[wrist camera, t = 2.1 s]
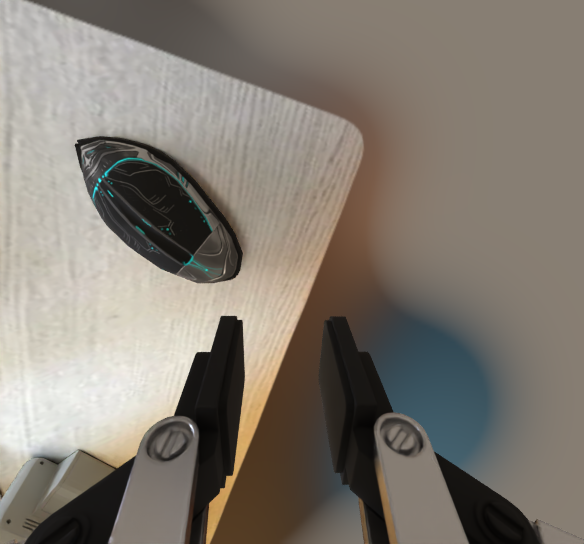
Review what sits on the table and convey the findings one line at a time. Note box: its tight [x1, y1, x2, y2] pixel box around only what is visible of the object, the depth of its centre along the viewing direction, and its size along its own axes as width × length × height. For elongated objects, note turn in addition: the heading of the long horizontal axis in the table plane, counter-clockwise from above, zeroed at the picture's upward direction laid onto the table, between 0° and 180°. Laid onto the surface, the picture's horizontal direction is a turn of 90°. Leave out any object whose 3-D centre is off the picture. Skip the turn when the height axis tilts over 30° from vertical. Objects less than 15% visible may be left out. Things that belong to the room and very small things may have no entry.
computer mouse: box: [75, 136, 243, 283], centre depth 25 cm, size 9×17×6 cm, turn 46°
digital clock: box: [0, 450, 116, 544], centre depth 39 cm, size 16×9×11 cm, turn 27°
